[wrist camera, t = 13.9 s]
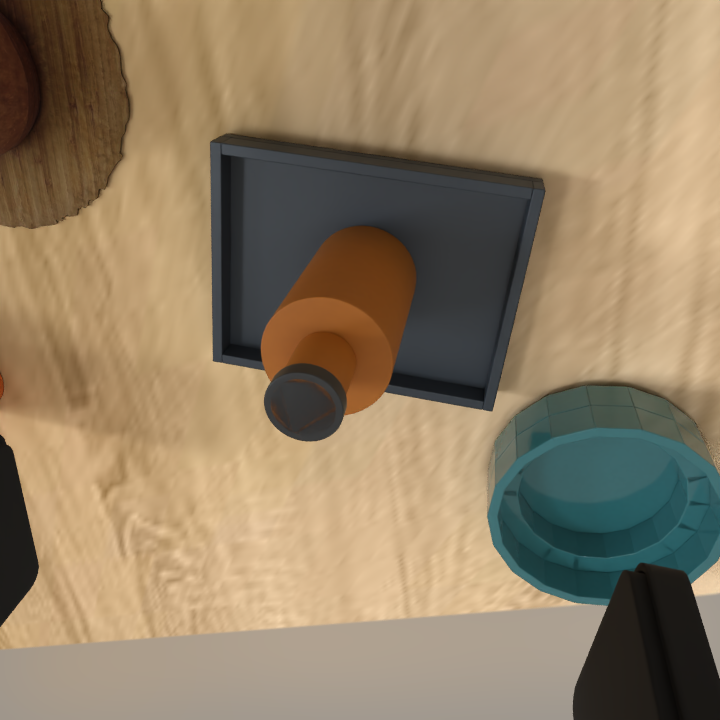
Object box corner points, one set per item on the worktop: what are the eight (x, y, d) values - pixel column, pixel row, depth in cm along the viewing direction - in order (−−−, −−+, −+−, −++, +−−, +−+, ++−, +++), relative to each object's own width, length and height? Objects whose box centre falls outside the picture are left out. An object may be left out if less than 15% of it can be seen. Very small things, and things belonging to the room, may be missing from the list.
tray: (543, 178, 34) (545, 189, 33) (492, 391, 41) (492, 412, 39) (225, 133, 36) (209, 141, 34) (225, 344, 43) (212, 361, 41)
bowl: (742, 401, 38) (773, 453, 34) (666, 565, 45) (684, 626, 41) (513, 362, 40) (515, 406, 36) (472, 526, 46) (470, 581, 42)
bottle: (423, 234, 36) (387, 355, 24) (408, 331, 39) (370, 482, 27) (316, 217, 37) (229, 327, 25) (310, 314, 40) (229, 454, 28)
